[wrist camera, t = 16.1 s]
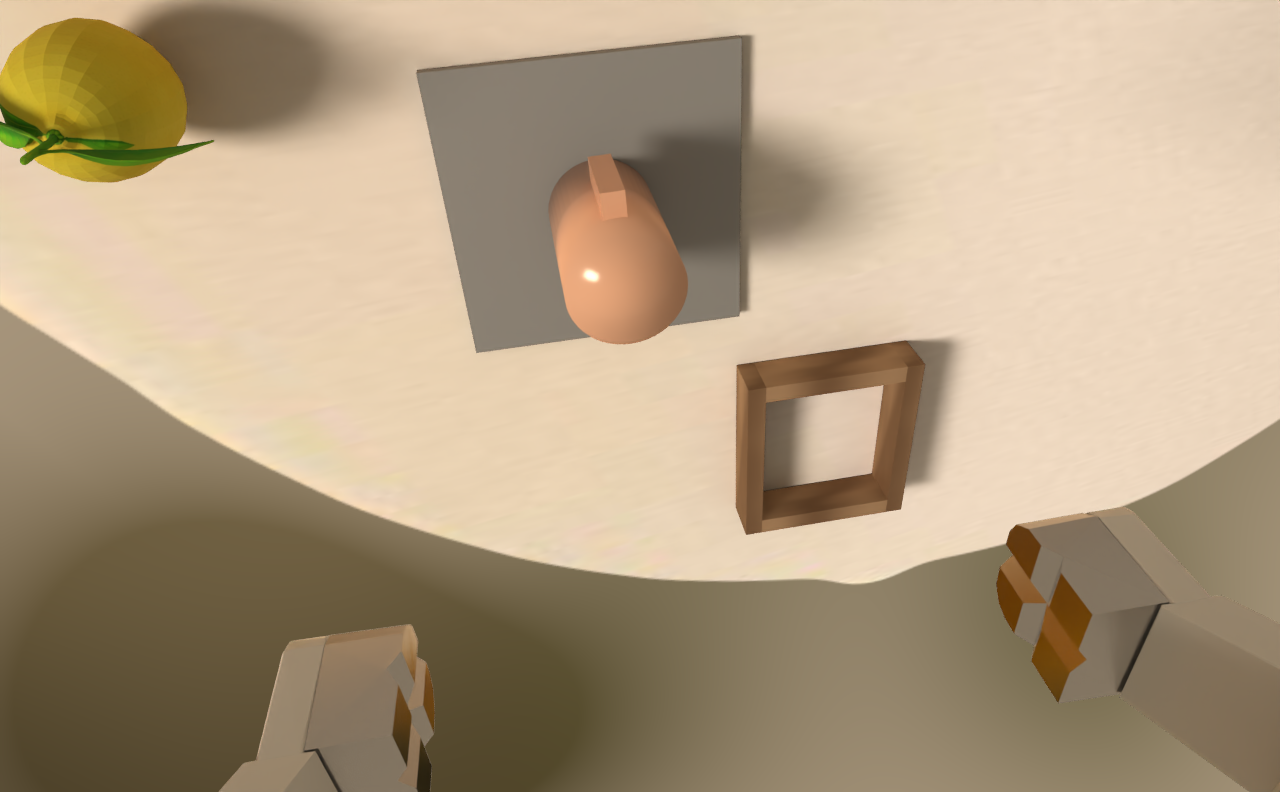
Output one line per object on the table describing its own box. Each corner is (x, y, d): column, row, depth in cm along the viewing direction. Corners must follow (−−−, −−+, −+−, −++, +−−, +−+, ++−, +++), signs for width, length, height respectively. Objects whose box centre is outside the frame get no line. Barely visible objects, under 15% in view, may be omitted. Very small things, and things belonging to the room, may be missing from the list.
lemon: (255, 88, 34) (189, 174, 26) (169, 180, 36) (81, 287, 28) (99, -50, 31) (-33, 0, 23) (11, 58, 32) (-141, 142, 24)
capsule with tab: (646, 127, 37) (683, 197, 31) (656, 249, 41) (690, 333, 35) (536, 143, 37) (551, 217, 31) (556, 264, 41) (573, 353, 34)
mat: (738, 35, 36) (741, 38, 36) (737, 311, 45) (739, 316, 44) (417, 70, 35) (416, 73, 35) (476, 347, 43) (476, 352, 43)
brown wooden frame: (906, 340, 48) (925, 364, 46) (885, 483, 54) (900, 509, 52) (736, 365, 47) (748, 390, 45) (735, 507, 53) (746, 534, 51)
